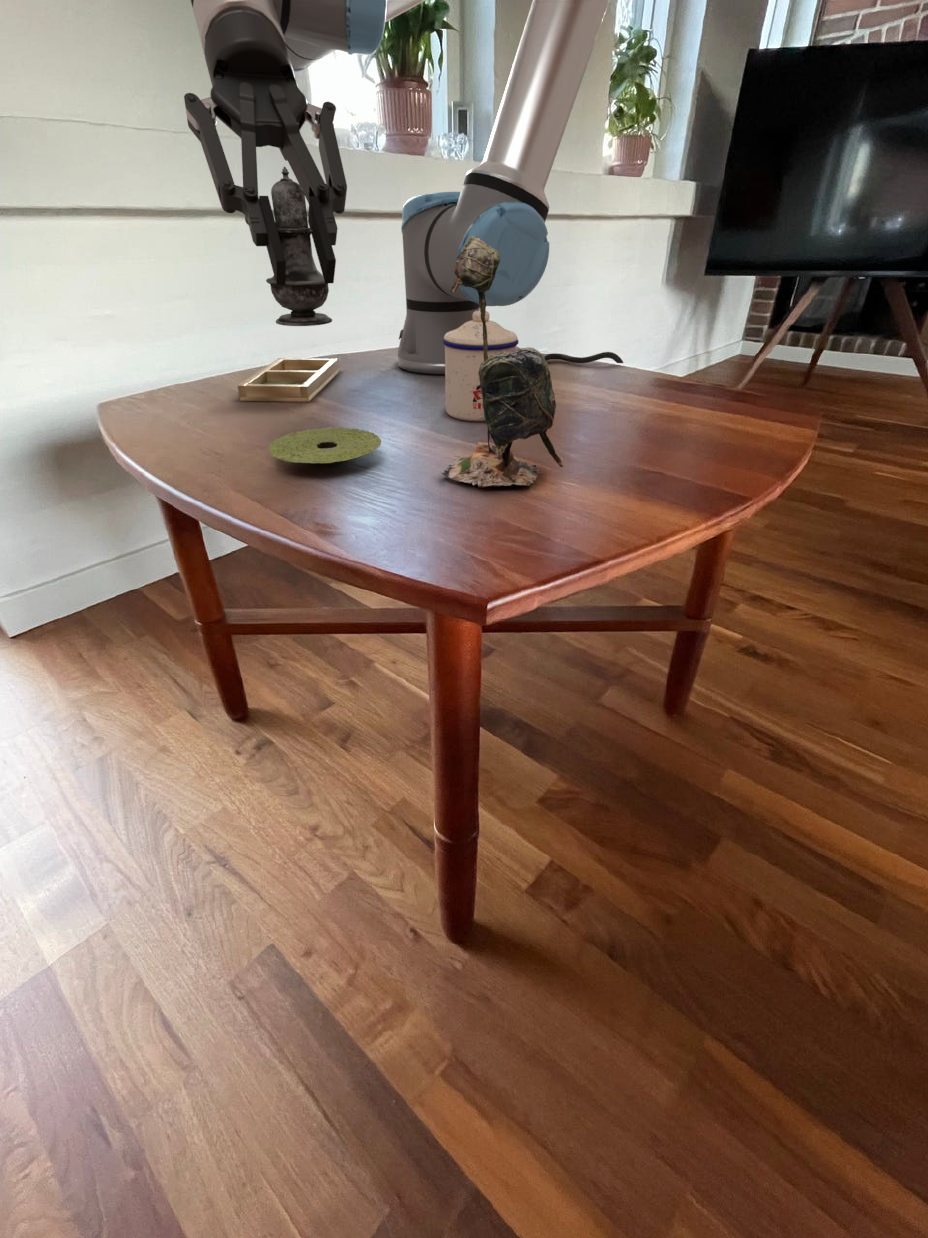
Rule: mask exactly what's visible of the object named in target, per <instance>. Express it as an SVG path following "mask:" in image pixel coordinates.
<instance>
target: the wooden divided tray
mask: <svg viewBox="0 0 928 1238" xmlns="http://www.w3.org/2000/svg"><path fill="white" fill-rule="evenodd" d="M339 373H340V367H339V358H301V357H300V358H299V357H298V358H297V357H296V358H295V357H294V358H293V357H288V358H287V357H285V358H284V357H279V358H276V359H275V360H273V361H272V362H271V363H269V364H268V365H267V366H265V367H263V368H262V369H260V370H259V371H257V372H255V373H254V374H252V375H251V376H250V377H248V378H247V379H245V380H243V381H242V382H241V383H239V384H237V391H238V396H239V400H240V401H241V402H291V403H292V402H294V403H295V402H296V403H297V402H298V403H299V402H300V403H310V402H311V400H312V399H314V397H315V396H317V395H318V393H320V392H321V391H322V390H323V389H324V388H325V387H326V386H327V385H328V384H329V383H330V382H331V381H332V380H333V379H334V378H335V377H336V376H337V375H338V374H339Z"/></svg>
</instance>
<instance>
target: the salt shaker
mask: <svg viewBox="0 0 928 1238" xmlns="http://www.w3.org/2000/svg"><path fill="white" fill-rule="evenodd" d="M281 170H282V171H281V172H280V173H281V174H282V178H280V180H279V181H276V182H275V183H274V184H273V185H272V187H271V190H270V195H271V203H272V211H273V216H274V220H275V224H276V227H277V231H278V235H279V238H280V242H281V246H282V250H283V253H284V257H285V261H286V279H285V285H277V284H276V281H275V277H274V275H273V276H272V277H268V278H266V279H265V282H266V283H267V284H269V285H270V292H271V294H272V296H273V298H274V300H275V301H276V302H277V303H278V304H279V306H281V307H282V308H284V309H287V310H288V311H289V310H290V313H285V314H281V315H280V316H279V317H278V318H277V319H276V320H275V323H276V325H280V326H286V327H312V326H313V327H315V326H323V325H327V324H328V325H329V324H330V323H332V322H333V319H332V318H331V317H330V316H329V315H327V314H325V313H321V312H316V311H315V310H317V309H319V308H320V307H322V306H323V305H324V304H325V303H326V301H327V299H328V295H329V292H330V289H329V283H327V284H325V281H324V277H323V274H322V272H320V271H319V270H318V269H317V266H316V263H315V259H314V256H313V249H312V248H313V247H312V239H311V236H312V234H311V233H313V230H311V229H310V227H309V223H308V211H307V203H306V197H305V194H304V190H303V188H302V187H301V186H300V185H299V183H298V182H296V181H294V180H293V179H292V178H290V177H289V174H290V171H289V169H287V167H286V166H283V168H282V169H281Z"/></svg>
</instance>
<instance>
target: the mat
mask: <svg viewBox="0 0 928 1238" xmlns="http://www.w3.org/2000/svg"><path fill="white" fill-rule="evenodd" d="M381 445H382V439H381V438H380V436H378V435H377V434H375V433H374V432H371V431H368V430H365V429H358V428H350V427H349V428H348V427H323V428H322V427H319V428H311V429H304V430H300V431H295V432H292V433H288V434H285V435H284V436H281V437H279V438H277V439H275V440H273V441H272V442H271V443H270V444H269V447H268V452H269V454H271V456H273V457H275V458H277V459H279V460H281V461H285V462H288V463H289V462H290V463H296V464H298V463H301V464H309V463H310V464H320V465H322V464H334V463H335V462H337V463H339V462H344V461H349V460H352V459H357V458H360V457H365V456H367V455H368V454H371V453H373V452H374V451H376V450H378V449H379V448H380V447H381Z"/></svg>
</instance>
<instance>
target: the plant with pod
mask: <svg viewBox="0 0 928 1238" xmlns="http://www.w3.org/2000/svg"><path fill="white" fill-rule="evenodd" d="M499 262H500V255H499V253H498V252H497V250H494V249H493V248H492V247H491V246H490V245H487V244H485V243H484V242H483V241H482V240H481V239H479V237H477V236H472V237H471V238H469V239H468V240H467V243H466V244H465V245H464V248H463V250H462V252H461V256H460V258H458V260H457V261H456V267H454V268H455V274H456V280H455V282H454V285H453V286H452V287H451V289H450V291H451V292H455V291H456V290H457V288H458V286H460V285H464V286H465V287H471V288H474V289H476V290H477V291H478V295H479V306H480V312H481V320H482V323H483V353H484V362H483V363H481V366H480V368H479V373H478V374H479V380H480V385H481V391H482V398H483V409H484V418H485V421H484V423H486V425H487V432H486V433H487V442H481V441H478V442H477V443H476V445H475V451H474V452H472V454H471V455H469V456H462V457H460V456H455V455H454V457H456V459H455V460H454V461H453V463H452V464H449V465H448V467H447V468H446V469H443V472H441V475H442V476H443V477H446V478H448V479H451V480H454V481H455V482H463V483H468V484H472V486H475V485H477V486H478V488H485V487H505V486H514V485H515V486H531V484H534V483H535V482H534V481H536V479H537V478H538V475H540V470H539V467H538V466H537V465H536V464H534V465H531V464H529V463H528V462H526V461H518V460H517V459H515V456H514V453H513V451H511V449H512V445H513V443H514V442H515V441H517V440H520V439H521V440H527V439H529V438H530V437H533V436H537V435H539V437H540V439H541V441H542V444H543V445H544V446H545V448H546V450H547V453H549V455H550V456H551V457H552V458H553V460H554V462H555V463H556V464H557V465H558V466H559V467H560V468H563V467H564V466H565V463H564V459H563V458H562V457H561V456H560V455H559V454H558V453H557V452H556V450H555V447H554V445H553V443H552V441H551V440H550V437H549V436H548V434H547V432H548V430H550V429H551V428H552V427H553V426H554V421H555V414H556V409H557V403H556V396H555V394H556V393H555V392H554V389H553V380H552V378H551V377H552V376H551V371H550V368H549V364H548V362H547V361H545V357H544V355H545V354H544V353H541V352H540V351H539V350H538V349H536V348H535V347H529V346H528V347H520V349H516V350H510V351H508V352H501V353H499V354H497V355H495V356H492V355H491V356H490V357H489V358H488V354H487V350H488V348H487V347H488V341H487V327H486V320H485V313H486V311H487V309H486V308H487V306H486V300H485V291H488V290H489V289H490V287H491V285H492V282H493V280H494V278H495V274H496V270H497V268H498V265H499ZM490 439H491V440H492V442H493V444H492V443H490Z"/></svg>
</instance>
